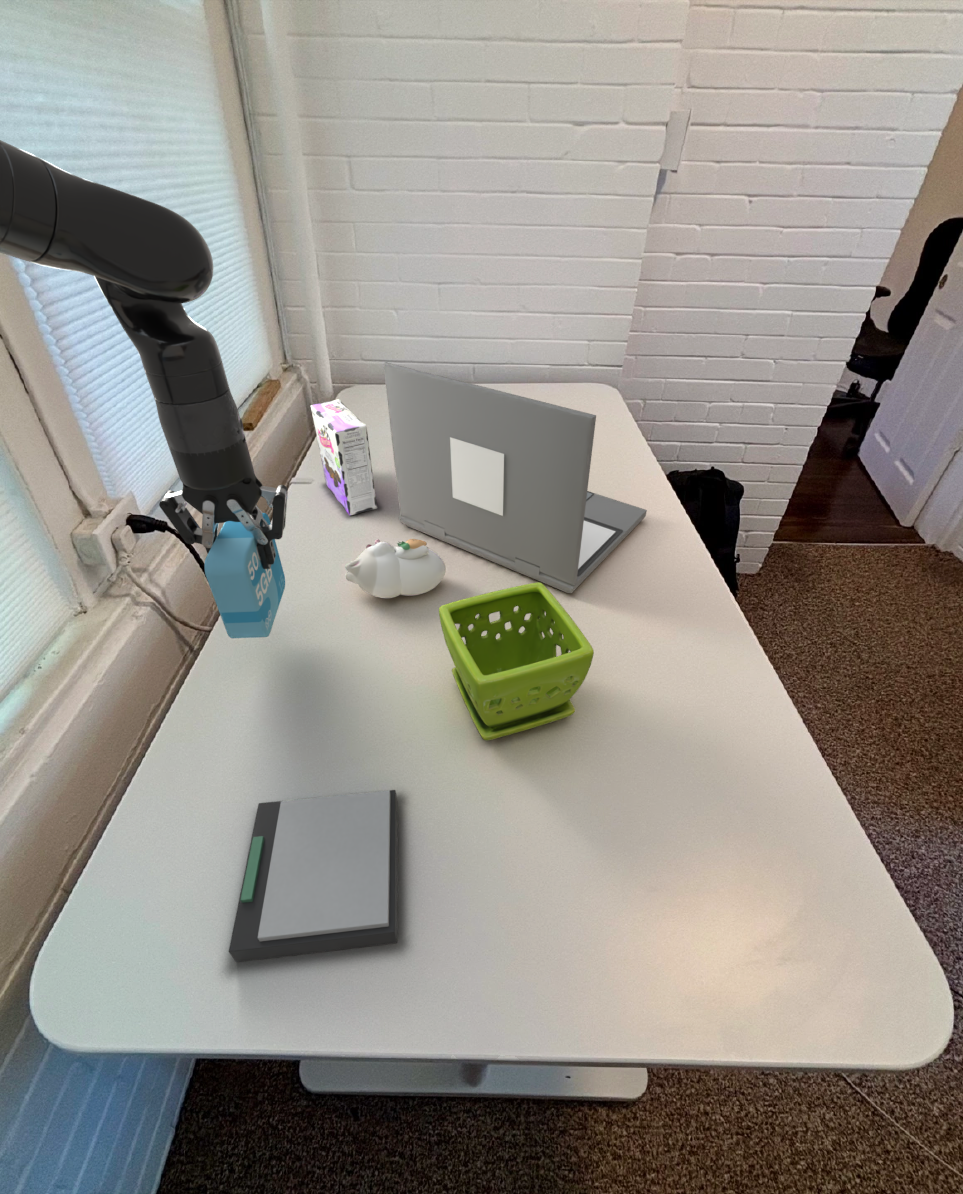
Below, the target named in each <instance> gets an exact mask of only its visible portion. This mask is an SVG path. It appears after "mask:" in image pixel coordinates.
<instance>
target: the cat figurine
mask: <svg viewBox="0 0 963 1194" xmlns="http://www.w3.org/2000/svg"><path fill="white" fill-rule="evenodd" d="M396 544H397V546H393V545H391V544H390V543H389V542H387V541H380V539H379V538H377V539H375V540H374V544H367V545H365V546H366V547H365V548H364V549H363V550H362V552H360V553H359V555H358V556H357V557H356V558H355V559H353V560H351V561H348V562H347V563H346V564H345V565H344V568H345V570H346V571H347V572H346V573H345V574H344V575H345V576H344V577H345V579H346V580H347V581H348V582H350V583H353V584H356V585H358V587H359V588H360V589H361V590H362V591H363V592H364V593H366V594H368V595H370V596H372V597H376V598H379V599H380V598H381V599H393V598H396V597H399V596H406V597H407V596H409V597H410V596H420V595H422V594H425V593H428V592H430V591H432V590H433V589H435V588H436V587H437V586H438V585H439V584H440V583H441V582H442V580H443V579H444V577H445V574H446V563H445V561H444V559H443V558H442V557H441V556H440V555H439V554H438V553H437V552H436V551H434V550H432V549H431V548H429V547H428V546H427V544H428V543H427V542H426V541H425V540H422V539H418V538H417V539H416V538H409V539H407V540H406V541H403V540H402V541H398V542H396Z"/></svg>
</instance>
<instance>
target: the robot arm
mask: <svg viewBox="0 0 963 1194" xmlns="http://www.w3.org/2000/svg"><path fill="white" fill-rule="evenodd" d="M0 254H3V255H6V256H10V257H12V258H16V259H19V260H22V261H25V262H29V263H32V264H36V265H39V266H43V267H48V268H52V269H57V270H58V269H59V270H64V271H72V272H78V273H82V274H86V275H89V276H93V277H94V279H95V281H96V283H97V285H98V287H99V289H100V291H101V293H102V295H103V296H104V298H105V300H106V301H107V304H108V305H109V307H110V308H111V310H112V312H113V314H114V315H115V317H116V319H117V320H118V322H119V324H120V325H121V327H122V329H123V331H124V332H125V334H126V335H127V336H128V338H129V340H130V342H131V343H132V345H133V347H135V349H136V351H137V352H138V355H139V356H140V361H141V364H142V367H143V370H144V373H145V376H146V379H147V381H148V384H149V387H150V390H151V393H152V396H153V399H154V402H155V406H156V411H157V416H158V420H159V423H160V426H161V429H162V431H163V432H162V433H163V434H164V438H165V441H166V443H167V446H168V449H169V451H170V455H171V457H172V460H173V463H174V466H175V469H176V471H177V474H178V477H179V480H180V481H181V483H182V490H179V491H174V490H171V489H170V490H169V489H168V490H167V491H166V492H165V494H164V495H163V496H162V498H161V500H160V501H159V503H158V506H159V508H160V509H161V510H162V512H163V513H164V514H165V516H166V517H167V519H168V520H169V522H170V523H171V524H172V526H173V528H174V529H175V530H176V532H177V533H178V534H179V535H180V537H181V539H182V540H183V541H184V542H185V543H186V544H187V545H194V544H199V545H201V546H202V547H204V549H205V550H206V553H207V555H208V553H209V551H210V549H211V547H212V545H213V543H214V541H215V540H216V538H217V536H218V534H219V525H220V524H224V523H225V522H227V521H233V522H241V523H242V525H243V526H244V527H245V529H246V530H247V531H250V532H251V533H252V535H253V536H254V538H255V539H256V540H257V542H258V543H257V548H258V552H259V555H260V558H261V562H262V565H263V569H270V568H271V564H274V561H275V557H276V552H275V548H274V545H273V541H272V540H273V539H275V540H281V539H282V538H283V534H284V530H285V528H286V519H287V509H288V508H287V506H288V493H289V489H288V487H287V486H286V485H285V484H279V485H277V487H272V486H267V485H263V483H262V481H260V480H259V479H258V477H257V476H256V472H255V468H254V465H253V461H252V458H251V454H250V450H249V446H248V441H247V438H246V436H245V432H244V424H243V420H242V418H241V417H240V413H239V410H238V407H237V404H236V401H235V398H234V397H233V394H232V392H231V389H230V386H229V382H228V378H227V374H226V371H225V367H224V363H223V359H222V356H221V352H220V349H219V346H218V343H217V341H216V339H215V337H214V335H213V334H212V332H210V330H208V329H207V328H205V327H204V326H202V325H200V324H199V323H197V322H196V321H195V320H193V319H192V318H191V317H190V316H189V315H188V312H187V311H186V309H185V307H184V305H183V304H186V303H190V302H193V301H196V300H197V299H199V298H200V297H201V296H203V295H204V294H205V293H206V292H207V291H208V289H209V287H210V286H211V283H212V282H213V281H212V280H213V277H214V260H213V256H212V253H211V250H210V247H209V245H208V243H207V242H206V240H205V238H204V237H203V236H202V234H201V233H200V231H199V230H198V229H197V228H196V226H195V225H193V223H191V222H190V221H189V220H188V219H186V218H185V217H184V216H183V215H180V214H179V213H177V212H176V211H173V210H172V209H169V208H168V207H166V206H163V205H161V204H158V203H156V202H153V201H150V200H148V199H145V198H143V197H139V196H136V195H133V194H131V193H128V192H125V191H121V190H119V189H117V188H113V187H110V186H107V185H105V184H101V183H98V182H94V181H91V180H88V179H85V178H83V177H81V176H77V175H76V174H73V173H71V172H68V171H66V170H63V169H61V168H59V166H56V165H54V164H53V163H50V162H49V161H47V160H44V159H43V158H40V157H38V156H36V155H34V154H33V153H30V152H28V151H25V150H23V149H22V148H19V147H16V146H14V145H12V144H10V143H8V142H6V141H4V140H1V139H0ZM261 498H263V499H265V502H266V504H267V506H268V507H269V508H271V509H272V515H271V516H272V517H271V518H272V520H271V525H268V524H267V522H266V521H265V519H264V518H263V514H262V513H263V512H262V510H261V509H260V507H259V506H258V503H259V501H260V499H261ZM188 504H189V505H190V506H191V507H192V508H194V509H195V510H196V511H198V512H199V513H200V514H201V515H202V517H201V518H202V519H201V526H200V525H199V523H197V521H196V520H195V517H194V516H193V515H192V514H191V512H190V511H189V509H188V508H187V507H188Z"/></svg>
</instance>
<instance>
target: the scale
mask: <svg viewBox="0 0 963 1194" xmlns="http://www.w3.org/2000/svg"><path fill="white" fill-rule="evenodd" d="M398 801H399V800H398V797H397V791H396V789H385V790H376V791H374V790H373V791H366V792H355V793H347V794H346V793H345V794H334V795H324V796H317V797H316V796H314V797H306V798H304V797H303V798H296V799H285V800H277V801H268V802H259V803H258V806H257V811H256V813H255V814H256V815H255V820H254V825H253V829H252V834H251V839H250V843H249V850H248V854H247V859H246V865H245V869H244V873H243V879H242V884H241V889H240V894H239V898H238V904H237V909H236V914H235V919H234V923H233V928H232V933H231V938H230V942H229V947H228V953H229V954H230V956H231V957H232V958H233V959H234V962H236V963H243V962H249V961H258V960H266V959H275V958H283V957H291V956H301V955H308V954H316V953H324V952H325V953H326V952H333V951H341V950H342V951H343V950H350V949H357V948H358V949H359V948H367V947H374V946H384V945H390V944H397V943H398V886H399V883H398V881H399V880H398V879H399V878H398V875H399V874H398V873H399V872H398V871H399V870H398V865H399V863H398V862H399V861H398V860H399V859H398V858H399V857H398V854H399V853H398V852H399V851H398V850H399V849H398V846H399V844H398V843H399V841H398V837H399V832H398V831H399V830H398V829H399V828H398V827H399V824H398V821H399V820H398V819H399V818H398V817H399V816H398V815H399V811H398V810H399V807H398V803H399V802H398Z"/></svg>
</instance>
